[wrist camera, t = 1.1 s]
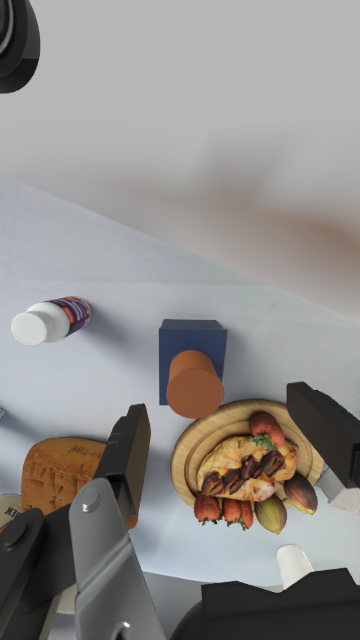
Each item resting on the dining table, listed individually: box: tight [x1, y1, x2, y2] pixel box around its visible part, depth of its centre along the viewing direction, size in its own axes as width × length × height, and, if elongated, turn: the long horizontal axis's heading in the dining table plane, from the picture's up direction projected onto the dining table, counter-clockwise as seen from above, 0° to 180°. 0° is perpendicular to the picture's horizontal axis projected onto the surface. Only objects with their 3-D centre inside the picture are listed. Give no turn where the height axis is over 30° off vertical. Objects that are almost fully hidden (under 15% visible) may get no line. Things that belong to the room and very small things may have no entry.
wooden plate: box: [170, 400, 324, 534], centre depth 34 cm, size 32×32×8 cm
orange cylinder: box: [166, 350, 224, 419], centre depth 23 cm, size 7×7×6 cm
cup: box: [276, 545, 314, 590], centre depth 41 cm, size 12×12×12 cm
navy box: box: [159, 319, 227, 405], centre depth 29 cm, size 12×9×6 cm
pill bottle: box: [11, 296, 91, 346], centre depth 25 cm, size 5×5×10 cm
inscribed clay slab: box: [21, 437, 138, 531], centre depth 34 cm, size 22×17×8 cm
